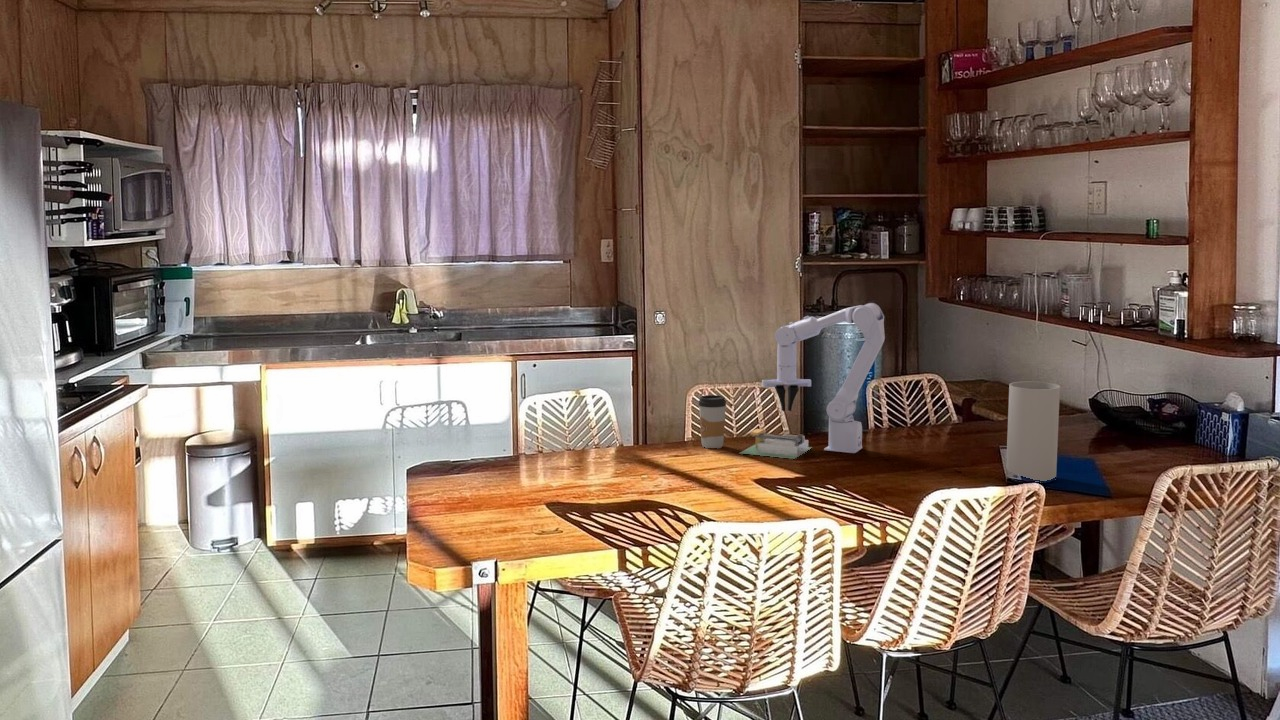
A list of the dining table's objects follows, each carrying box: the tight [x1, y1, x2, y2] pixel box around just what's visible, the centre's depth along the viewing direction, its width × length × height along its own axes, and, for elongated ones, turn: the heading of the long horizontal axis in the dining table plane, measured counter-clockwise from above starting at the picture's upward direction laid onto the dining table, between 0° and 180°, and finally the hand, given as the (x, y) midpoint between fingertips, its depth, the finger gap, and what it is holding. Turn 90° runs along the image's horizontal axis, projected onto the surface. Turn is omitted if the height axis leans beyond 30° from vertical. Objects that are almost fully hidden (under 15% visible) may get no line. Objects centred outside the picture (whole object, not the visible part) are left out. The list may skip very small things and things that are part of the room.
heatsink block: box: [758, 433, 809, 458], centre depth 339 cm, size 12×10×5 cm
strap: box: [753, 433, 802, 442], centre depth 339 cm, size 14×3×1 cm, turn 63°
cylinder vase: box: [1005, 381, 1061, 483], centre depth 304 cm, size 12×12×25 cm
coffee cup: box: [698, 394, 727, 449], centre depth 347 cm, size 8×8×15 cm
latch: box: [749, 428, 766, 448], centre depth 342 cm, size 2×5×6 cm, turn 153°
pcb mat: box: [738, 443, 814, 460], centre depth 341 cm, size 17×16×1 cm
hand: (786, 410), depth 349 cm, fingers closed
